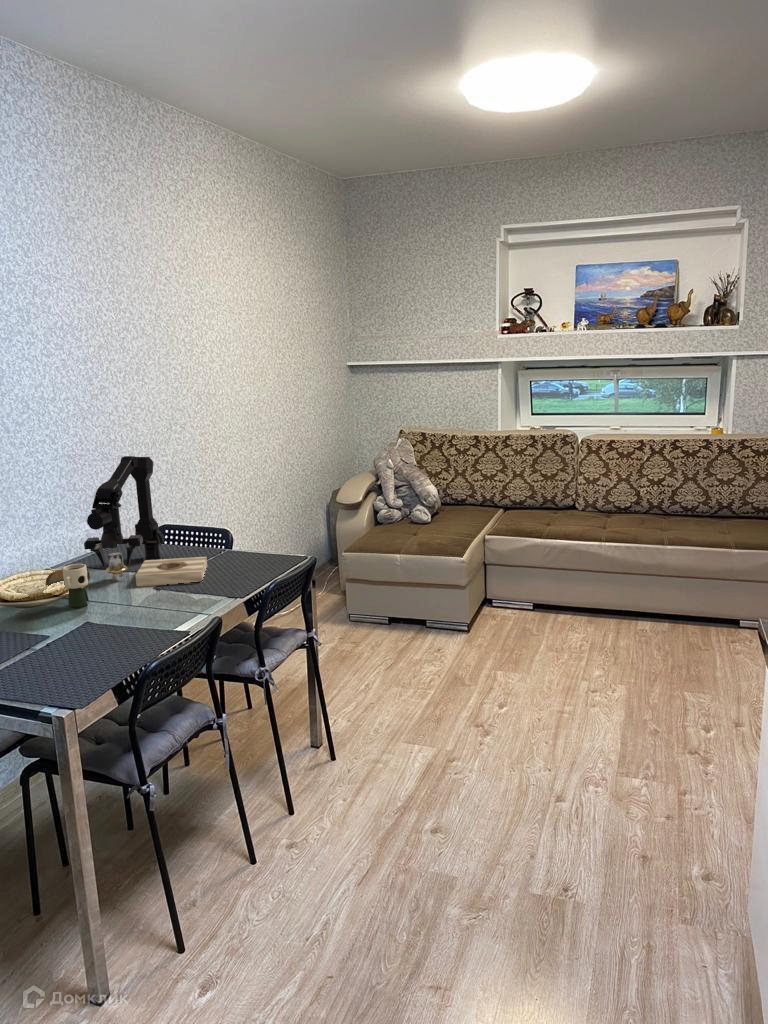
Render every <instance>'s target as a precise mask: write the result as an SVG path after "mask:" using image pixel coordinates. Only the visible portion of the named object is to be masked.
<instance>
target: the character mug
mask: <svg viewBox="0 0 768 1024" xmlns="http://www.w3.org/2000/svg"><path fill="white" fill-rule="evenodd" d="M62 569H63V577H64V585H65V587H66V588H69V594H67V595H68V597H67V599H68V601H67V602H68V604H67V605H68V606H69V607H75V608H81V607H85V606H87V605H88V603H90V598H89V595H88V591H87V587H88V585H89V583H88V579H87V570H88V568H87V565H86V564H83V563H74V564H68V565H65V566H62ZM62 569H61V570H62ZM85 586H86V587H85Z"/></svg>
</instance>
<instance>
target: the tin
mask: <svg viewBox="0 0 768 1024" xmlns="http://www.w3.org/2000/svg"><path fill="white" fill-rule="evenodd" d="M87 579H88V584H89V583H90V579H91V576H90V572H89V570H88V569H87ZM60 581H64V577H63V569H59V570H56V571H53V572H51V573H50V574H48V576H47V577H46V579H45V586H46V585H48V586H49V585H51V584H53V583H57V582H60ZM85 588H87V586H85Z"/></svg>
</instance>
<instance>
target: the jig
mask: <svg viewBox="0 0 768 1024" xmlns="http://www.w3.org/2000/svg"><path fill="white" fill-rule="evenodd" d="M207 560H208V559H207V556H199V557H198V556H196V557H179V558H178V557H177V558H164V559H162V558H161V559H160V560H145V561H143V562H142V564H141V565H140V568H139V569H138V571H137V572H136V573H135V585H136V587H151V586H165V585H166V586H167V584H169V585H179V584H178V583H184V584H191V583H190V582H198V581H202V580H203V581H204V578H205V575H206V572H205V571H207V569H208V561H207ZM206 568H207V569H206ZM204 574H205V575H204ZM203 577H204V578H203ZM203 581H202V582H203Z"/></svg>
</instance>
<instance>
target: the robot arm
mask: <svg viewBox="0 0 768 1024" xmlns="http://www.w3.org/2000/svg"><path fill="white" fill-rule="evenodd" d="M153 473H154V461H153V459H152V458H151V457H150V456H134V455H128V456H127V455H125V456H121V458H120V463H118V466H117V467H116V469H115V470H114V471H113V473H112V475H111V476H110V477H109V479H108V480H107V481H105V482H103V483H101V484H100V485H99V486H98V487H97V490H96V492H95V494H94V499H93V503H92V506H91V508H92V509H91V513H90V514H88V516H87V519H86V523H87V526H88V527H89V528H90V529H92V530H95V531H97V530H100V529H102V535H101V538H99V537H97V536H96V537H88V538H87V539H86V540H85V541H84V543H83V544H84V545H83V547H84V550H89V551H90V552H93V553H94V554H96V556H97V557H98V559H99V561H100V563H101V565H102V567H104V568H105V567H106V560H105V559H106V557H105V553H104V550H106V549H116V548H118V545H127V546H126V563H127V566H130V563H131V558H132V555H133V551H134V549H137V547H141V545H143V550H144V557H143V559H142V561H143V562H144V561H145V560H160V559H162V558H163V556H162V555H163V554H161V549H160V548H161V547H160V545H161V544H164V542H165V535H164V534H163V532H162V531H161V530H160V528H159V523H158V521H156V518H154V513H153V505H152V494H151V484H150V483H151V482H150V479H151V477H152V475H153ZM130 475H131V477H132V478H133V480H134V481H135V487H136V489H135V490H136V495H137V496H136V499H137V507H138V508H137V509H138V517H139V518H138V519H139V520H137V522H136V523H135V524H134V528H135V529H134V531H135V535H133V534H131V535H130V536H129V537H127V538H126V537H125V538H124V537H123V533H122V524H121V516H120V509H119V508H121V507H122V504H121V503H119V502H120V501H121V498H122V495H123V490H122V489H123V487H124V485H125V484H126V482H127V480H128V478H129V476H130ZM161 557H162V558H161Z"/></svg>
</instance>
